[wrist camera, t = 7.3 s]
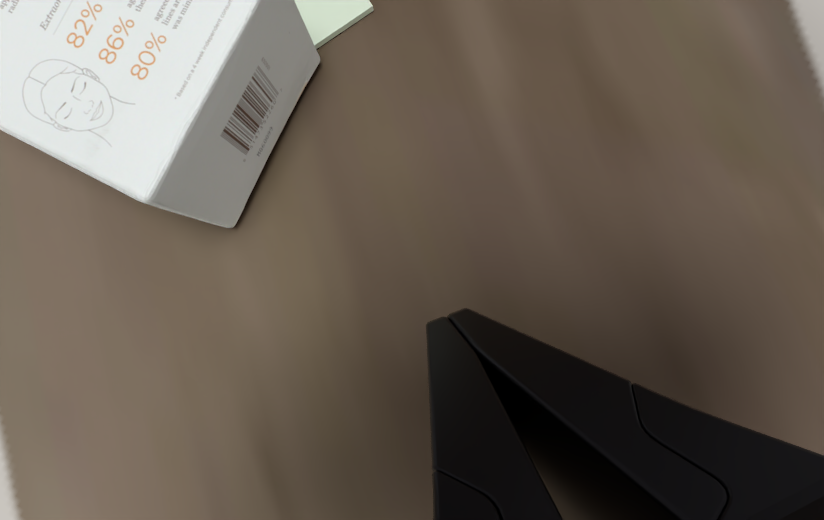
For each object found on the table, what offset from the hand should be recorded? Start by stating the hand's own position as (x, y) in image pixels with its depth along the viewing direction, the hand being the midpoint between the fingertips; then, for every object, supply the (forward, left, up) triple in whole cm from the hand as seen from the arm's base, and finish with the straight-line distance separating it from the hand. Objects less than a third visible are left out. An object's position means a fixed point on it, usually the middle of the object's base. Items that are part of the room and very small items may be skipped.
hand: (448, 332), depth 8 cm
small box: (+8, +3, -6) cm, 11 cm away
